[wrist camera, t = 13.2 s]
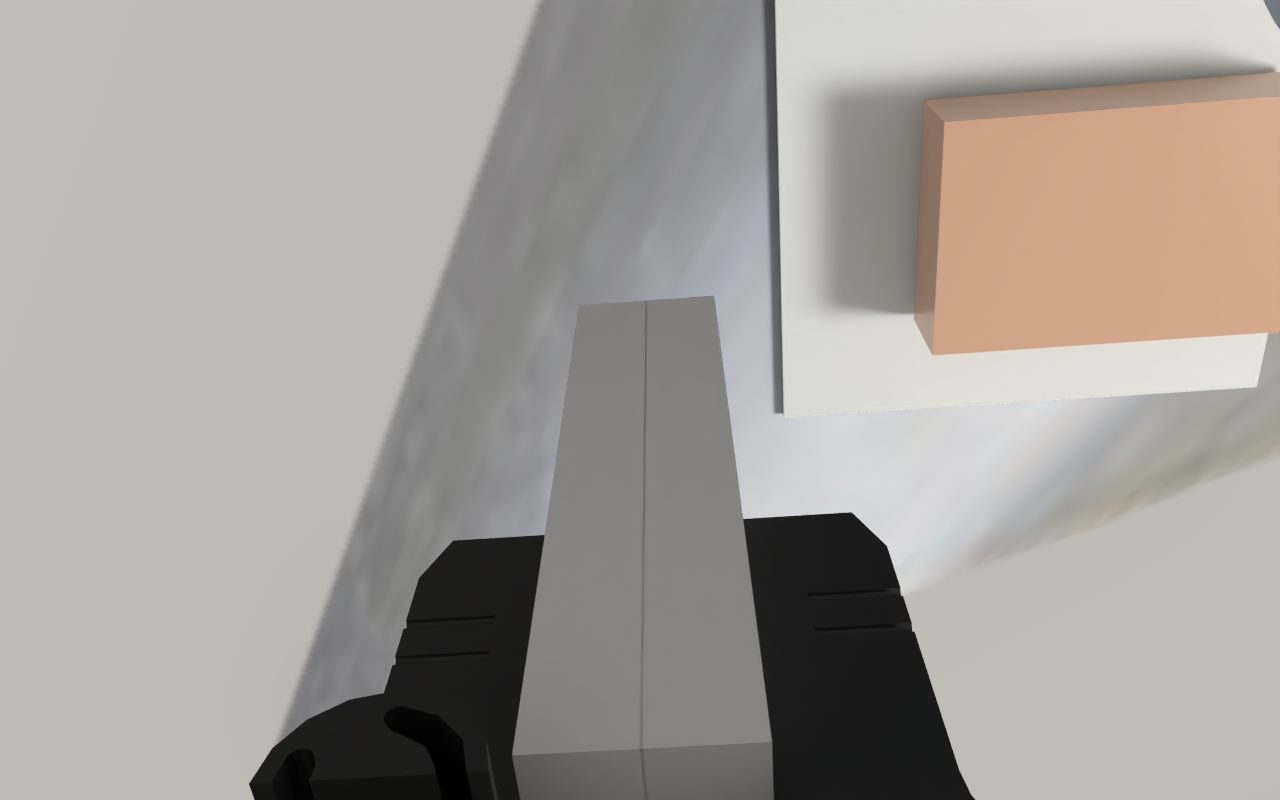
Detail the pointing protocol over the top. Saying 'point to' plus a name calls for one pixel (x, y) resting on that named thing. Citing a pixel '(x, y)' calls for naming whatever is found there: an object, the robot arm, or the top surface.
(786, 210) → the mat
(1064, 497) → the top surface
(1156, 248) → the block
